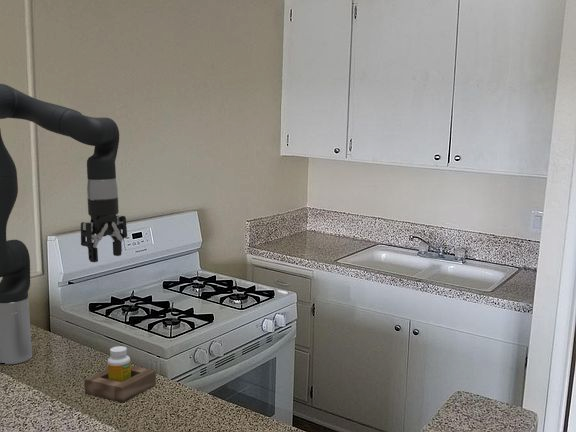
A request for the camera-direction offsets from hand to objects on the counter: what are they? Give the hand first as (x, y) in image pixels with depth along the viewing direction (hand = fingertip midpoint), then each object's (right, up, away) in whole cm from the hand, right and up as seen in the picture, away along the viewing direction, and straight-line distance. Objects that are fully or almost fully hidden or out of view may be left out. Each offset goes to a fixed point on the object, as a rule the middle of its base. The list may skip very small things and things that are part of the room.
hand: (105, 258), depth 172 cm
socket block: (+6, -32, -8) cm, 33 cm away
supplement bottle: (+6, -31, -8) cm, 33 cm away
